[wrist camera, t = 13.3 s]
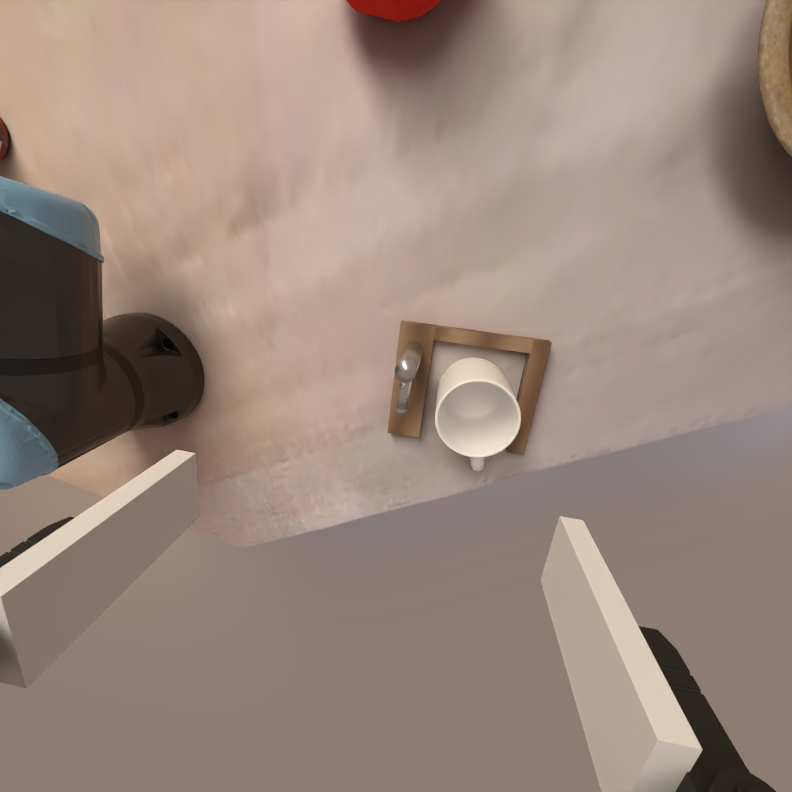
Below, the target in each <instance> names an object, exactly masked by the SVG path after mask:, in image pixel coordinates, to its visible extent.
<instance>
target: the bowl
mask: <svg viewBox="0 0 792 792" xmlns="http://www.w3.org/2000/svg"><path fill="white" fill-rule="evenodd" d="M758 78H759V85H760V92H761V97H762V101H763V106H764V110H765V113H766V116H767V119H768V121H769V124H770V126H771V128H772V130H773V132H774V134H775V136H776V138H777V140H778V141H779V142H780V144H781V145H782V146H783V148H784V149H785V150H786V151H787V153H788V154H789V155H790V156H791V157H792V0H767V1H766V5H765V10H764V14H763V18H762V22H761V28H760V35H759V47H758Z"/></svg>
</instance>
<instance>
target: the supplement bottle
mask: <svg viewBox="0 0 792 792" xmlns="http://www.w3.org/2000/svg"><path fill="white" fill-rule="evenodd" d="M8 142H9V141H8V134H7V130H6V127H5V125H4V124H3V122H2V120H1V119H0V159H1V158H3V157H4V155H5V154H6V152H7V149H8Z"/></svg>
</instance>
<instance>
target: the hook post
mask: <svg viewBox="0 0 792 792" xmlns="http://www.w3.org/2000/svg"><path fill="white" fill-rule="evenodd" d="M422 354H423V347H422V345H421V344H420V343H418V342H411V343H409V344H408V346H407V347H406V349H405V351H404V353H403V355H402V357H401V359H400V361H399V362H398V364H397V366H396V368H395V375H396V377H397V379H398V380H399V386H398V394H397V402H396V410H397V412H398V413H401V414H403V413H405V412H407V410H408V404H409V397H410V389H411V382H412V380H413V379H414V378H415V376H416V373H417V370H418V367H419V364H420V360H421V357H422Z"/></svg>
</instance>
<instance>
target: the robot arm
mask: <svg viewBox="0 0 792 792" xmlns="http://www.w3.org/2000/svg"><path fill="white" fill-rule="evenodd" d="M102 263H104V257H103V256H102V255H101V247H100V233H99V224H98V220H97V218H96V216H95V215H94V213H93V212H92V211H91V210H90V209H89V208H88V207H86V206H85V205H84V204H82V203H80V202H78V201H76V200H73V199H70V198H67V197H64V196H61V195H58V194H55V193H52V192H49V191H46V190H43V189H40V188H36V187H33V186H30V185H27V184H24V183H21V182H18V181H14V180H11V179H8V178H5V177H2V176H0V490H4V489H9V488H13V487H16V486H18V485H21V484H23V483H25V482H28V481H30V480H32V479H34V478H37V477H39V476H42V475H47V474H50V473H51V472H53V471H55V470H56V469H57V468H59V467H61V466H63V465H65V464H67V463H69V462H71V461H72V460H74V459H76V458H78V457H80V456H82V455H84V454H86V453H87V452H89V451H91V450H93V449H95V448H97V447H99V446H101V445H102V444H104V443H106V442H108V441H110V440H112V439H114V438H116V437H117V436H119V435H121V434H123V433H125V432H127V431H130V430H138V429H147V428H155V427H162V426H166V425H169V424H172V423H174V422H176V421H177V420H179V419H181V418H183V417H185V416H186V415H188V414H189V413H190V412H191V411H192V410H193V409H194V408H195V407H196V405H197V404H198V402H199V400H200V398H201V395H202V391H203V384H204V377H203V369H202V365H201V362H200V359H199V357H198V354H197V352H196V350H195V349H194V347H193V345H192V344H191V342H190V341H189V340H188V338H187V337H186V336H185V335H184V334H183V333H182V332H181V331H180V330H179V329H178V328H177V327H175V326H174V325H173V324H171V323H170V322H168V321H166V320H164V319H162V318H160V317H158V316H155V315H151V314H147V313H130V314H123V315H117V316H114V317H111V318H108V319H106V320H104V321H103V311H102ZM199 516H200V512H199V496H198V479H197V462H196V453H193V452H187V451H181V450H175V451H174V452H172V453H171V454H169V455H168V456H166V457H165V458H163V459H162V460H160V461H159V462H157V463H156V464H154V465H153V466H151V467H150V468H148V469H147V470H145V471H144V472H142V473H141V474H139V475H138V476H136V477H135V478H134V479H132V480H131V481H129V482H128V483H126V484H125V485H123V486H122V487H120V488H119V489H117V490H116V491H114V492H113V493H111V494H110V495H108V496H107V497H105V498H104V499H102V500H101V501H99V502H98V503H96V504H95V505H93V506H92V507H90V508H89V509H87V510H86V511H85V512H83V513H81V514H80V515H78V516H77V517H75V518H74V517H68V518H66V519H63V520H61V521H58V522H56V523H54V524H51V525H49V526H47V527H45V528H44V529H42V530H40V531H39V532H37V533H36V534H34V535H33V536H31V537H30V538H28V539H27V541H26V542H22V543H20V544H19V545H17V546H16V547H14V548H13V549H11V551H10V552H9V553H8V552H6V553H5V554H3V555H2V556H0V682H2V683H6V684H11V685H15V686H19V687H23V688H27V687H28V686H29V685H30V684H31V683H32V682H33V681H34V680H35V679H36V678H37V677H38V676H39V675H40V674H41V673H42V672H43V671H44V670H45V669H46V668H47V667H48V666H49V665H50V664H51V663H52V662H53V661H54V660H55V659H56V658H57V657H58V656H59V655H60V654H61V653H63V652H64V650H66V648H67V647H69V646H70V645H71V643H73V641H74V640H76V639H77V637H79V635H81V633H82V632H84V630H86V629H87V628H88V627H89V626H90V624H92V623H93V622H94V621H95V620H96V619H97V618H98V616H100V615H101V613H103V612H104V610H106V608H108V607H109V606H110V605H111V604H112V603H113V602H114V601H115V599H116V598H118V597H119V595H121V594H122V592H124V591H125V590H126V589H127V588H128V587H129V586H130V585H131V584H132V583H133V582H134V580H136V579H137V578H138V577H139V576H140V575H141V574H142V573H143V572H144V571H145V569H147V567H149V566H150V565H151V564H152V563H153V562H154V561H155V560H156V559H157V558H158V557H159V556H160V555H161V554H162V553H163V552H164V551H165V550H166V549H167V548H168V547H169V546H170V545H171V544H172V543H173V542H174V541H175V540H176V539H177V538H178V537H179V536H180V535H181V534H182V533H183V532H184V531H185V530H186V529H187V528H188V527H189V526H190V525H191V524H192V523H193V522H194V521H195V520H196V519H197V518H198V517H199ZM541 583H542V586H543V590H544V593H545V597H546V601H547V604H548V607H549V611H550V615H551V618H552V621H553V625H554V628H555V632H556V635H557V639H558V642H559V646H560V649H561V653H562V656H563V660H564V663H565V667H566V670H567V673H568V677H569V681H570V684H571V687H572V691H573V694H574V698H575V701H576V705H577V708H578V712H579V715H580V719H581V722H582V726H583V729H584V732H585V736H586V740H587V743H588V746H589V750H590V753H591V757H592V760H593V764H594V767H595V771H596V774H597V778H598V781H599V784H600V788H601V791H602V792H776V791H775V790H774V789H773V788H771V787H770V786H769V785H768V784H767V783H765V782H764V781H762V780H761V779H759V778H757V777H756V776H754V775H753V774H751V773H750V772H749V770H748V769H747V768H746V766H745V764H744V762H743V761H742V759H741V757H740V756H739V754H738V752H737V751H736V749H735V747H734V746H733V744H732V742H731V740H730V739H729V737H728V736H727V734H726V732H725V730H724V729H723V727H722V725H721V724H720V722H719V720H718V718H717V717H716V715H715V713H714V712H713V710H712V708H711V707H710V705H709V703H708V702H707V700H706V698H705V697H704V695H702V694H701V692H700V688H699V686H698V685H697V683H696V681H695V680H694V678H693V676H690V672H689V669H688V668H687V666H686V664H685V663H684V661H683V660H682V658H681V656H680V654H679V653H678V651H677V649H675V647H674V646H673V645H672V644H671V643H670V642H669V641H668V640H667V639H666V638H665V637H664V636H663V635H662V634H661V633H660V632H659V631H658V630H656V629H650V628H645V627H640V626H638V625H637V623H636V621H635V619H634V617H633V615H632V614H631V612H630V610H629V608H628V606H627V604H626V602H625V600H624V598H623V596H622V594H621V592H620V590H619V589H618V587H617V585H616V583H615V581H614V579H613V577H612V575H611V573H610V571H609V569H608V567H607V566H606V564H605V562H604V560H603V558H602V556H601V554H600V552H599V550H598V548H597V546H596V544H595V543H594V541H593V539H592V537H591V535H590V533H589V531H588V529H587V527H586V525H585V523H584V522H583V520H578V519H572V518H566V517H559V521H558V524H557V527H556V530H555V534H554V537H553V540H552V544H551V547H550V550H549V554H548V557H547V560H546V564H545V567H544V570H543V573H542V577H541Z"/></svg>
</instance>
